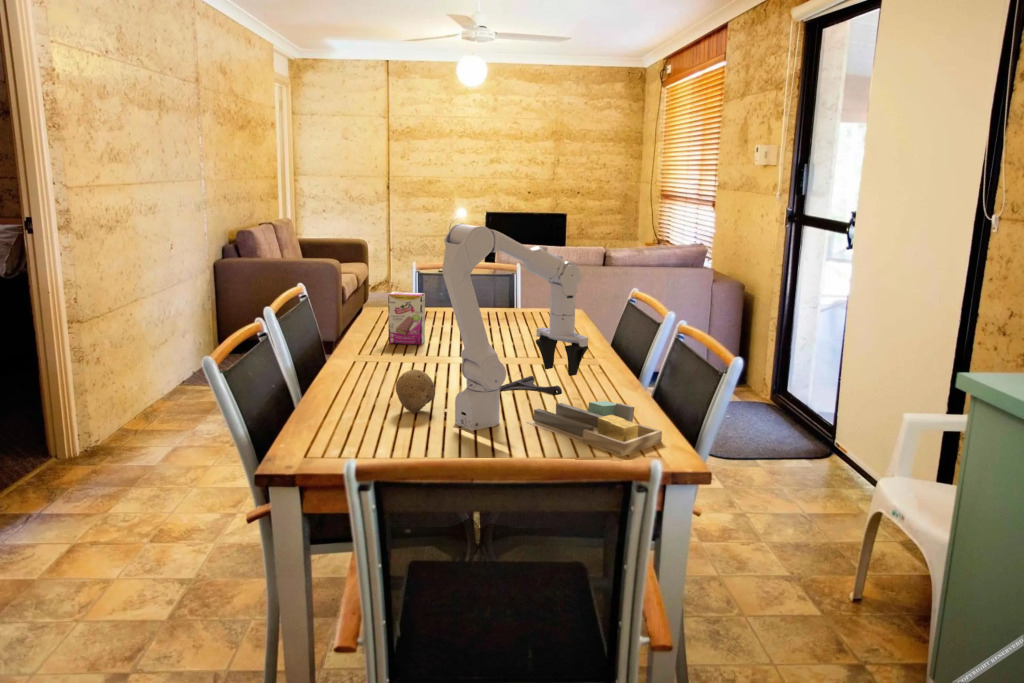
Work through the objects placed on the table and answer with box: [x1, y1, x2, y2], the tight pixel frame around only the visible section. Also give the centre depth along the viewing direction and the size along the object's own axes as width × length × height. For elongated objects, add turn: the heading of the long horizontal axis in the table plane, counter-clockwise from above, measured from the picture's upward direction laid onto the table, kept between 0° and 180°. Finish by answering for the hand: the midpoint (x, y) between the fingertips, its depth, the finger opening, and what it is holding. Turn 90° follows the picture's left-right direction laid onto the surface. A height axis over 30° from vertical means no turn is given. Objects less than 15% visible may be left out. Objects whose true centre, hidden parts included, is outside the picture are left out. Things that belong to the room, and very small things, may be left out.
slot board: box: [526, 402, 663, 457], centre depth 164 cm, size 13×27×4 cm, turn 43°
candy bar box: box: [387, 291, 426, 346], centre depth 249 cm, size 11×5×16 cm, turn 84°
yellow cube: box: [610, 420, 639, 442], centre depth 158 cm, size 4×4×4 cm
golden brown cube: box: [597, 415, 626, 437], centre depth 161 cm, size 4×4×4 cm
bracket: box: [500, 375, 563, 396], centre depth 200 cm, size 14×15×3 cm
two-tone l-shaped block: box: [587, 400, 635, 422], centre depth 171 cm, size 5×8×6 cm
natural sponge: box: [395, 368, 436, 414], centre depth 178 cm, size 9×9×10 cm
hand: (560, 371), depth 178 cm, fingers open, 7 cm apart
